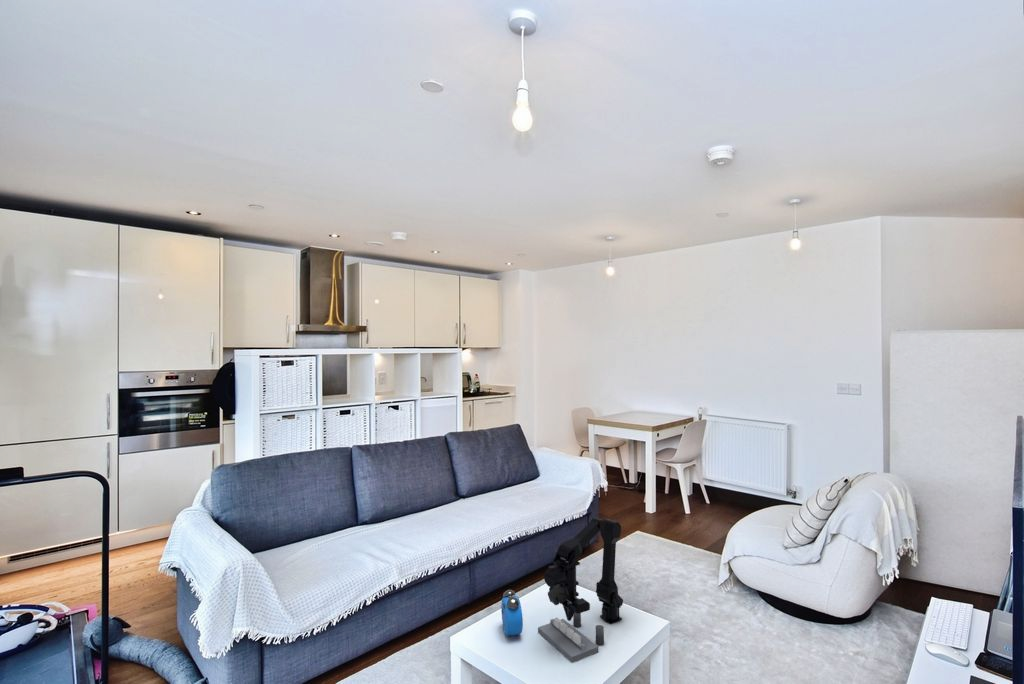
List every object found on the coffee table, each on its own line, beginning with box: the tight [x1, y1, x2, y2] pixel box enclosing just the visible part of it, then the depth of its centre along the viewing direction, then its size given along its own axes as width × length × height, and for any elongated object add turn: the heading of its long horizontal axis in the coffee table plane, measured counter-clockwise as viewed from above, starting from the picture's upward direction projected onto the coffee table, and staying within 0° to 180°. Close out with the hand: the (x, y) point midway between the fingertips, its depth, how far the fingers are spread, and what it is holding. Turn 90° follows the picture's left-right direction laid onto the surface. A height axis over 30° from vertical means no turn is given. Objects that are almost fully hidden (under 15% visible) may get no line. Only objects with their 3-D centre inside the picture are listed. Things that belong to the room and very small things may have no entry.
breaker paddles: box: [552, 617, 581, 648], centre depth 183 cm, size 1×18×3 cm, turn 30°
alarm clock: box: [500, 589, 524, 637], centre depth 190 cm, size 13×6×15 cm, turn 12°
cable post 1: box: [572, 613, 582, 629], centre depth 194 cm, size 3×3×6 cm
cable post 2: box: [595, 624, 605, 647], centre depth 182 cm, size 3×3×6 cm
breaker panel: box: [537, 618, 600, 664], centre depth 183 cm, size 12×22×4 cm, turn 30°
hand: (569, 620), depth 184 cm, fingers closed
